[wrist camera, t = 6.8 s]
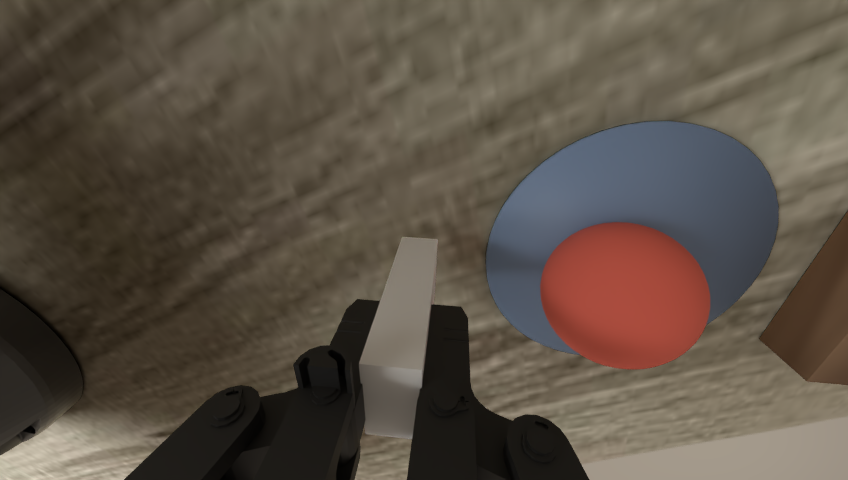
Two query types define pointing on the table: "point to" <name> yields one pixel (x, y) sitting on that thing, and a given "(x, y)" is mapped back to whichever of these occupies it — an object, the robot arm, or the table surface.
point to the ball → (625, 295)
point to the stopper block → (817, 316)
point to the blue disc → (636, 211)
